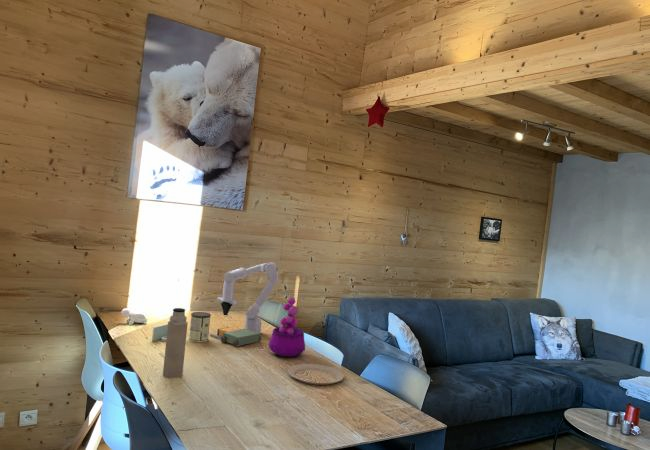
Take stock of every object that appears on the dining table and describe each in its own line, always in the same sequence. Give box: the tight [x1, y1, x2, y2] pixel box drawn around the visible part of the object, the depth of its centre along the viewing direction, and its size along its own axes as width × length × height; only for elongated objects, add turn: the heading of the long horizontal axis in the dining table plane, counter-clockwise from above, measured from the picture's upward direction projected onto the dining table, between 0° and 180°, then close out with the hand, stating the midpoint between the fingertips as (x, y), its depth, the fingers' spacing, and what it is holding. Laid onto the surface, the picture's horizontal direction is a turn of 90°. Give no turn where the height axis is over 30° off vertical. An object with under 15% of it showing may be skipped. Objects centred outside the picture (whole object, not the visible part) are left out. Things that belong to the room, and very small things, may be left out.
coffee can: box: [188, 311, 212, 343], centre depth 259 cm, size 10×10×14 cm
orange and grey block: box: [216, 326, 238, 337], centre depth 269 cm, size 9×8×4 cm
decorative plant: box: [268, 296, 306, 358], centre depth 248 cm, size 19×18×30 cm
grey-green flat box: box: [209, 328, 262, 348], centre depth 267 cm, size 18×25×5 cm
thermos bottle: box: [162, 307, 189, 379], centre depth 203 cm, size 8×8×28 cm
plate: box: [287, 363, 345, 386], centre depth 219 cm, size 26×26×2 cm
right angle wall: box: [151, 323, 168, 343], centre depth 252 cm, size 12×12×8 cm
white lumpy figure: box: [120, 308, 148, 326], centre depth 280 cm, size 9×8×15 cm
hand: (225, 314), depth 284 cm, fingers closed
